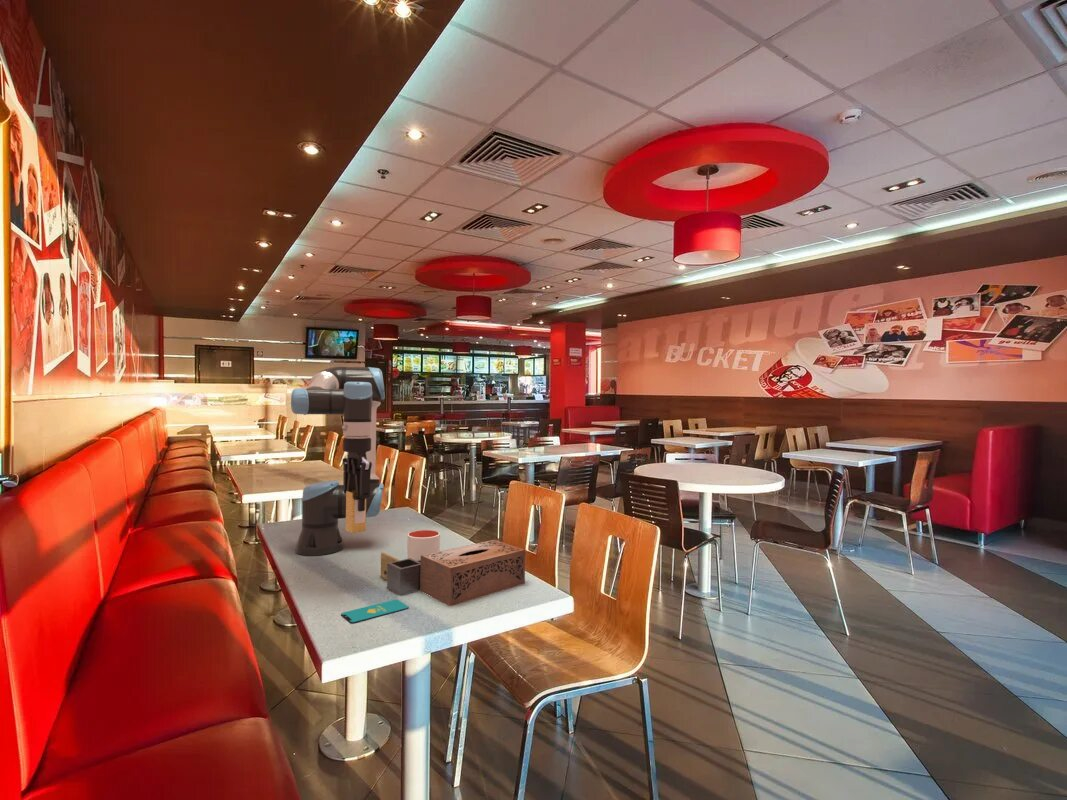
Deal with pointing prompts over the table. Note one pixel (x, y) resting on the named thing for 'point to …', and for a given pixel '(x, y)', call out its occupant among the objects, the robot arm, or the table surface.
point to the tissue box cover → (471, 571)
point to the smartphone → (374, 611)
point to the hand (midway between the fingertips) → (355, 520)
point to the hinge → (400, 574)
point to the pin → (350, 514)
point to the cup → (422, 543)
